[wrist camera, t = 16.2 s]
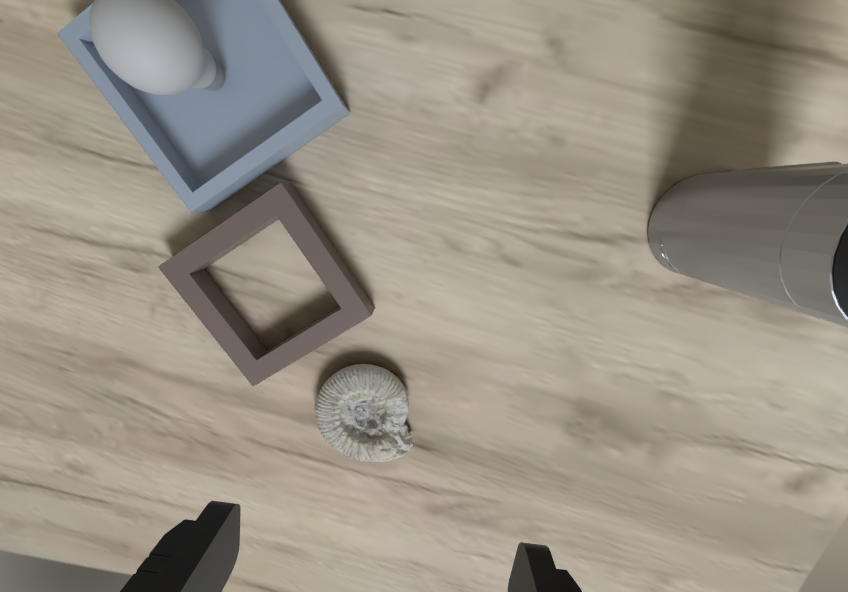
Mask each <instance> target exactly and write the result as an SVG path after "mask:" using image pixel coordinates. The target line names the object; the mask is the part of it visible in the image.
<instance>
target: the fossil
mask: <svg viewBox="0 0 848 592" xmlns="http://www.w3.org/2000/svg"><path fill="white" fill-rule="evenodd" d="M407 395H408V394H407V393H406V389H405V387H404V385H403V384H402V382H400V380H399V379H398V378H397V377H396V376H394V374H393V373H390V371H389V370H386V369H384V368H382V367H379V366H375V365H371V364H355V365H351V366H348V367H346V368H342V369H341V370H339V371H337V372H336V373H335V374H333V375H332V376H331V377H330V378H328V380H327V381H326V382H325V383H324V385H323V386H322V388H321V390H320V392H319V394H318V396H317V400H316V405H315V415H316V421H317V424H318V426H319V430H320V431H321V434H323V437H324V438H325V439H326V441H328V442H329V444H330V445H331V446H332V447H334V448H335V450H337V451H339V452H340V453H342V454H343V455H346V456H347V457H350V458H351V459H354V460H359V461H364V462H365V461H368V462H370V461H372V462H385V461H390V460H393V459H397V458H399V457H402V456H404V455H405V454H407V452H408V451H409V450H410V448H411V447H412V446H413V442H412V438H411V434H409V432H408V427H407V426H406V424H405V420H406V418H407V415H408V408H409V402H408V396H407Z"/></svg>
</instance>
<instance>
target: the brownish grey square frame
mask: <svg viewBox="0 0 848 592" xmlns="http://www.w3.org/2000/svg"><path fill="white" fill-rule="evenodd" d="M278 219H279V220H280V221H281V223H282V224H283V225H284V227H285V228H286V230H287V231H288V233H289V234H290V236H291V237H292V238H293V240H294V241H295V243H296V244H297V246H298V247H299V248H300V250H301V251H302V253H303V254H304V256H305V257H306V258H307V260H308V261H309V263H310V264H311V266H312V267H313V269H314V270H315V271H316V273H317V274H318V276H319V277H320V279H321V280H322V281H323V283H324V284H325V286H326V287H327V289H328V290H329V292H330V293H331V294H332V296H333V297H334V299H335V300H336V302H337V303H338V304H339V307H337V308H336V309H334V310H332V311H331V312H329V313H328V314H326V315H324V316H323V317H321V318H319V319H318V320H316V321H314V322H313V323H311V324H310V325H308V326H306V327H305V328H303V329H301V330H300V331H298V332H297V333H295V334H293V335H292V336H290V337H288V338H287V339H285V340H283V341H282V342H280V343H279V344H277V345H275V346H274V347H272V348H270V349H269V350H266V349H265V347H264V346H263V345H262V343H261V342H260V341H259V339H258V338H257V337H256V335H255V334H254V333H253V332H252V330H251V329H250V328H249V326H248V325H247V324H246V322H245V321H244V320H243V319H242V317H241V316H240V315H239V313H238V312H237V311H236V309H235V308H234V307H233V305H232V304H231V303H230V302H229V300H228V299H227V298H226V296H225V295H224V294H223V292H222V291H221V290H220V288H219V287H218V286H217V285H216V283H215V282H214V281H213V279H212V278H211V277H210V275H209V274H208V273H207V271H206V270H205V268H206V267H208V266H209V265H211V264H212V263H214V262H215V261H217V260H218V259H220V258H221V257H223V256H224V255H226V254H227V253H229V252H230V251H232V250H233V249H235V248H236V247H238V246H239V245H241V244H242V243H244V242H245V241H247V240H248V239H250V238H251V237H253V236H254V235H256V234H257V233H259V232H260V231H262V230H263V229H265V228H266V227H268V226H269V225H271V224H272V223H274V222H275V221H277V220H278ZM158 267H159V269H160V270H161V271H162V273H163V274H164V275H165V276H166V278H167V279H168V280H169V281H170V283H171V284H172V285H173V286H174V288H175V289H176V290H177V291H178V293H179V294H180V295H181V296H182V298H183V299H184V300H185V301H186V303H187V304H188V305H189V307H190V308H191V309H192V310H193V312H194V313H195V314H196V315H197V317H198V318H199V319H200V320H201V322H202V323H203V324H204V325H205V327H206V328H207V329H208V330H209V332H210V333H211V334H212V335H213V337H214V338H215V339H216V341H217V342H218V343H219V344H220V346H221V347H222V348H223V349H224V351H225V352H226V353H227V354H228V356H229V357H230V358H231V359H232V361H233V362H234V363H235V364H236V366H237V367H238V368H239V369H240V371H241V372H242V373H243V375H244V376H245V377H246V378H247V380H248V381H249V382H250V383H251V385H252V386H255V385H256V384H258V383H260V382H261V381H263V380H265V379H266V378H268V377H270V376H271V375H273V374H275V373H276V372H278V371H280V370H281V369H283V368H285V367H286V366H288V365H290V364H291V363H293V362H295V361H296V360H298V359H300V358H301V357H303V356H305V355H306V354H308V353H310V352H311V351H313V350H315V349H316V348H318V347H320V346H321V345H323V344H325V343H326V342H328V341H330V340H331V339H333V338H335V337H336V336H338V335H340V334H341V333H343V332H345V331H346V330H348V329H350V328H351V327H353V326H355V325H357V324H358V323H360V322H362V321H363V320H365V319H367V318H368V317H370V316H371V315H372V313H373V311H374V309H375V307H374V306H373V304H372V303H371V301H370V300H369V298H368V297H367V295H366V294H365V292H364V291H363V289H362V288H361V286H360V285H359V284H358V282H357V281H356V279H355V278H354V276H353V275H352V273H351V272H350V270H349V269H348V267H347V266H346V264H345V263H344V261H343V260H342V258H341V257H340V255H339V254H338V252H337V251H336V249H335V248H334V246H333V245H332V243H331V242H330V240H329V239H328V237H327V236H326V235H325V233H324V232H323V230H322V229H321V227H320V226H319V224H318V223H317V221H316V220H315V218H314V217H313V215H312V214H311V212H310V211H309V209H308V208H307V206H306V205H305V203H304V202H303V200H302V199H301V197H300V196H299V194H298V193H297V191H296V190H295V189H294V187H293V186H292V184H291V183H282V182H281V183H279V184H278V185H276V186H275V187H273V188H272V189H270V190H269V191H268V192H266V193H265V194H263V195H262V196H260V197H259V198H257V199H256V200H254V201H253V202H252V203H250V204H249V205H247V206H246V207H244V208H243V209H241V210H240V211H238V212H237V213H236V214H234V215H233V216H231V217H230V218H228V219H227V220H225V221H224V222H222V223H221V224H220V225H218V226H217V227H215V228H214V229H212V230H211V231H209V232H208V233H206V234H205V235H203V236H202V237H201V238H199V239H198V240H196V241H195V242H193V243H192V244H190V245H189V246H187V247H186V248H185V249H183V250H182V251H180V252H179V253H177V254H176V255H174V256H173V257H171V258H170V259H169V260H167V261H166V262H164V263H163V264H161V265H160V266H158Z"/></svg>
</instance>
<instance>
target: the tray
mask: <svg viewBox="0 0 848 592" xmlns="http://www.w3.org/2000/svg"><path fill="white" fill-rule="evenodd" d="M175 1H176V2H177V3H178V4H179V5H180V6H181V7H182V8H183V9H184V10H185V11H186V13H187V14H188V15H189V16H190V18H191V19H192V21H193V22H194V23H195V25H196V27H197V29H198V31H199V33H200V37H201V40H202V43H203V47H205V48H206V49H207V50H208V51H209V52H210V53H211V55H212V56H213V57H214V58H216V59H217V60H218V61H219V62H220V63H221V64H222V66H223V67H224V70H225V74H226V79H225V83H224V85H223V86H222V87H221V88H220V89H218V90H215V91H210V90H206V89H203V88H192V87H190V88H188V89H187V90H185V91H183V92H181V93H178V94H173V95H156V94H151V93H147V92H144V91H142V90H139V89H137V88H134V87H133V86H131V85H130V84H128V83H127V82H125V81H124V80H122V79H121V78H119V77H118V76H117V75H116V74H115V73H114V72H113V71H112V70H111V69H110V68H109V67H108V66H107V65H106V64H105V62H104V61H103V60H102V58H101V57H100V55H99V53H98V51H97V49H96V47H95V45H94V43H93V40H92V37H91V33H90V28H89V16H90V10H91V7H92V4H93V3H92V4H91V5H90V6H89V7H88V8H86V9H85V10H84V11H83V12H82V13H80V14H79V15H78V16H77V17H76V18H75V19H73V20H72V21H71V22H70V23H69V24H67V25H66V26H65V27H64V28H63V29H62V30H60V31H59V32H58V33H57V34H58V35H59V37H60V38H61V39H62V41H63V42H64V43H65V45H66V46H67V48H68V49H69V50H70V52H71V53H72V54H73V56H74V57H75V58H76V60H77V61H78V62H79V64H80V65H81V66H82V68H83V69H84V70H85V72H86V73H87V74H88V76H89V77H90V78H91V80H92V81H93V82H94V84H95V85H96V86H97V88H98V89H99V90H100V92H101V93H102V94H103V96H104V97H105V98H106V100H107V101H108V102H109V104H110V105H111V106H112V108H113V109H114V110H115V112H116V113H117V114H118V116H119V117H120V118H121V120H122V121H123V122H124V124H125V125H126V126H127V128H128V129H129V130H130V132H131V133H132V134H133V136H134V137H135V138H136V140H137V141H138V142H139V144H140V145H141V147H142V148H143V149H144V151H145V152H146V153H147V155H148V156H149V157H150V159H151V160H152V161H153V163H154V164H155V165H156V167H157V168H158V169H159V171H160V172H161V173H162V175H163V176H164V177H165V179H166V180H167V181H168V183H169V184H170V185H171V187H172V188H173V189H174V191H175V192H176V193H177V195H178V196H179V197H180V199H181V200H182V201H183V203H184V204H185V205H186V207H187V208H188V209H189V211H190V212H203V211H211V210H212V209H213V208H215V207H216V206H218V205H219V204H221V203H222V202H223V201H225V200H226V199H228V198H229V197H231V196H232V195H234V194H235V193H236V192H238V191H239V190H241V189H242V188H244V187H245V186H246V185H248V184H249V183H251V182H252V181H254V180H255V179H257V178H258V177H259V176H261V175H262V174H264V173H265V172H267V171H268V170H269V169H271V168H272V167H274V166H275V165H277V164H278V163H279V162H281V161H282V160H284V159H285V158H287V157H288V156H290V155H291V154H292V153H294V152H295V151H297V150H298V149H300V148H301V147H302V146H304V145H305V144H307V143H308V142H310V141H311V140H313V139H314V138H315V137H317V136H318V135H320V134H321V133H323V132H324V131H325V130H327V129H328V128H330V127H331V126H333V125H334V124H335V123H337V122H338V121H340V120H341V119H343V118H344V117H346V116H347V115H348V114H350V112H349V110H348V108H347V107H346V105H345V104H344V102H343V100H342V99H341V97H340V95H339V94H338V92H337V91H336V89H335V87H334V86H333V84H332V82H331V81H330V79H329V77H328V76H327V74H326V73H325V71H324V69H323V68H322V66H321V64H320V63H319V61H318V59H317V58H316V56H315V55H314V53H313V51H312V50H311V48H310V46H309V45H308V43H307V41H306V40H305V38H304V37H303V35H302V33H301V32H300V30H299V28H298V27H297V25H296V23H295V22H294V20H293V19H292V17H291V15H290V14H289V12H288V10H287V9H286V7H285V6H284V4H283V2H282V1H281V0H175Z"/></svg>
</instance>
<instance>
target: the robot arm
mask: <svg viewBox="0 0 848 592" xmlns="http://www.w3.org/2000/svg"><path fill="white" fill-rule="evenodd" d="M648 239H649V244H650V247H651V250H652V253H653V254H654V256H655V257H656V259H657V260H658V261H659V262H660V263H661V264H662V265H663V266H664V267H666V268H668V269H669V270H671V271H673V272H676V273H679V274H682V275H686V276H689V277H692V278H695V279H698V280H701V281H704V282H707V283H710V284H713V285H716V286H719V287H722V288H725V289H728V290H732V291H735V292H738V293H741V294H744V295H747V296H750V297H754V298H757V299H760V300H763V301H766V302H769V303H772V304H775V305H779V306H782V307H785V308H788V309H791V310H794V311H797V312H801V313H804V314H807V315H810V316H813V317H816V318H819V319H823V320H826V321H829V322H832V323H836V324H839V325H842V326H845V327H848V164H841V163H839V162H824V163H811V164H799V165H786V166H774V167H761V168H749V169H736V170H731V171H729V172H724V173H711V174H701V175H695V176H692V177H689V178H686V179H684V180H682V181H680V182H679V183H677V184H675V185H674V186H673V187H671V188H670V189H669V190H668V191H667V192H665V194H664V195H663V196H662V197H661V198H660V200H659V201H658V203H657V204H656V206H655V208H654V210H653V212H652V215H651V218H650V221H649V227H648ZM239 541H240V505H239V504H233V503H226V502H218V501H211V502H210V503H209V504H208V505H207V506H206V507H205V509H204V510H203V511H202V513H201V514H200V516H199V517H198V518H197V520H196V521H193V520H183V521H182V522H181V523H179V524H178V525H177V526H175V527H174V528H173V529H171V530H170V531H169V532H167V533H166V534H165V535H164V536H163V537H162V539H161V540H160V541H159V542H158V544H157V545H156V546H155V548H154V549H153V550H152V551H151V553H150V555H149V557H147V558H146V559H145V560H144V562H143V563H142V564H141V565H140V567H139V568H138V569H137V572H136V574H133V576H132V577H131V578H130V580H129V581H128V582H127V583H126V585H125V586H124V587H123V589H122V590H121V591H120V592H222V590H223V588H224V586H225V584H226V582H227V580H228V578H229V576H230V574H231V572H232V570H233V568H234V565H235V562H236V559H237V556H238V551H239ZM508 592H582V591H581V589H580V587H579V586H578V585H577V583H576V582H575V581H574V579H573V578H572V577H571V575H570V574H569V573H568V571H567V570H561V569H556V567H555V564H554V561H553V558H552V555H551V552H550V550H549V548H548V547H547V546H545V545H537V544H530V543H522V542H521V543H520V544H519V545H518V548H517V552H516V556H515V560H514V564H513V568H512V572H511V576H510V579H509V584H508Z"/></svg>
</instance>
